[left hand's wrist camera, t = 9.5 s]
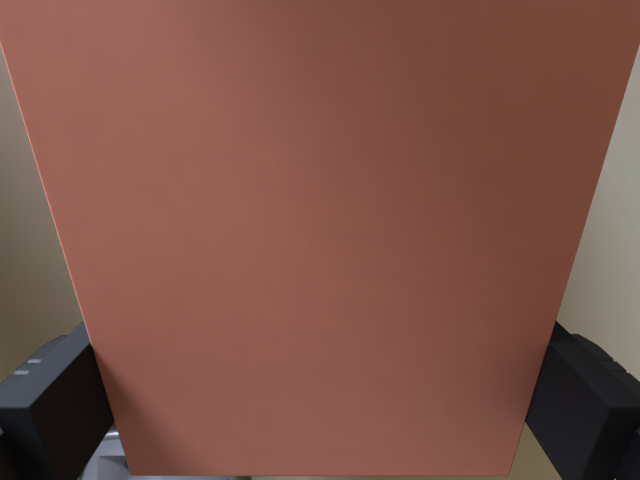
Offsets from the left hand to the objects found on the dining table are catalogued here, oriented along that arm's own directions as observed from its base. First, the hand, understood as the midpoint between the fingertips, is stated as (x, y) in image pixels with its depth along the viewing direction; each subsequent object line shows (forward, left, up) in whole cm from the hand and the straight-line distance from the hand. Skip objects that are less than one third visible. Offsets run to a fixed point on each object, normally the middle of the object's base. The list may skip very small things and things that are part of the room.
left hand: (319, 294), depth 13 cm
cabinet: (+4, -3, -6) cm, 8 cm away
